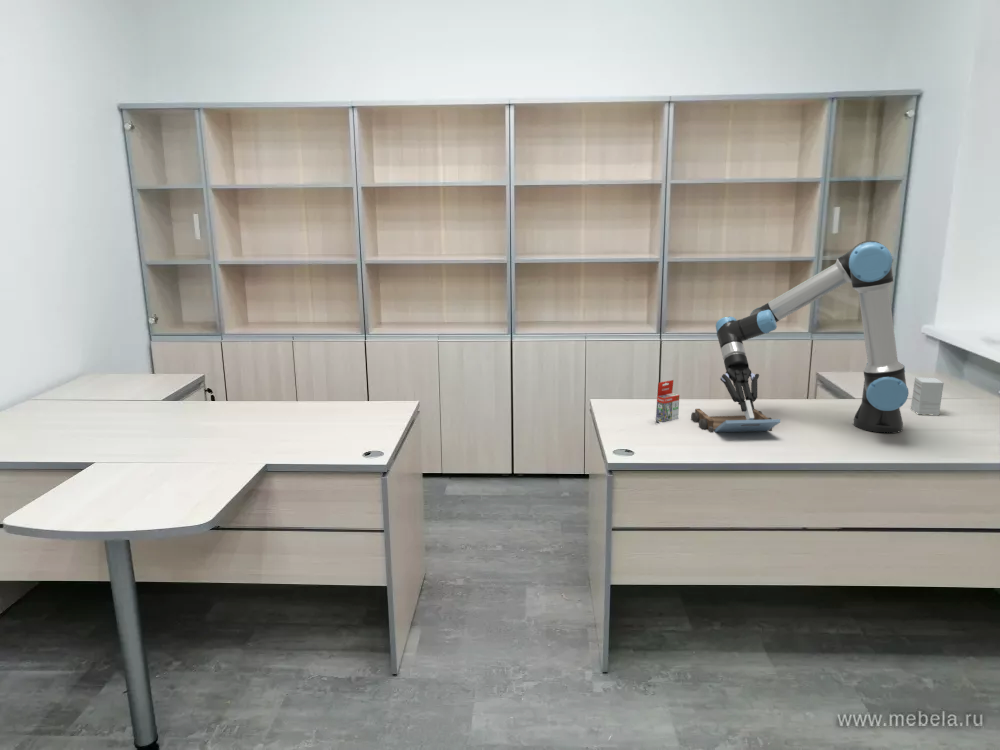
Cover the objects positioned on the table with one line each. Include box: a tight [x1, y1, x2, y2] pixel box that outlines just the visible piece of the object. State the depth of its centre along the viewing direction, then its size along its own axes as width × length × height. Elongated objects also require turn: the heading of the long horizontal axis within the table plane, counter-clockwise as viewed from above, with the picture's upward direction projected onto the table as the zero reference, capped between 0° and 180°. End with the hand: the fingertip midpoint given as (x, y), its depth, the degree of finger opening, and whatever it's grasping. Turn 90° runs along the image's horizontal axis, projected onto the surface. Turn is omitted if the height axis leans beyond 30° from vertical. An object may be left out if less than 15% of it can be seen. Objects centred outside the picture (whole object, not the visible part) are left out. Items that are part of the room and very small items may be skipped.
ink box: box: [655, 379, 680, 424], centre depth 251 cm, size 4×8×15 cm, turn 123°
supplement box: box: [910, 377, 945, 416], centre depth 262 cm, size 7×7×13 cm
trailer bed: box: [690, 408, 773, 433], centre depth 247 cm, size 16×24×4 cm, turn 94°
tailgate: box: [713, 418, 781, 433], centre depth 235 cm, size 1×18×12 cm
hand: (750, 419), depth 231 cm, fingers closed
